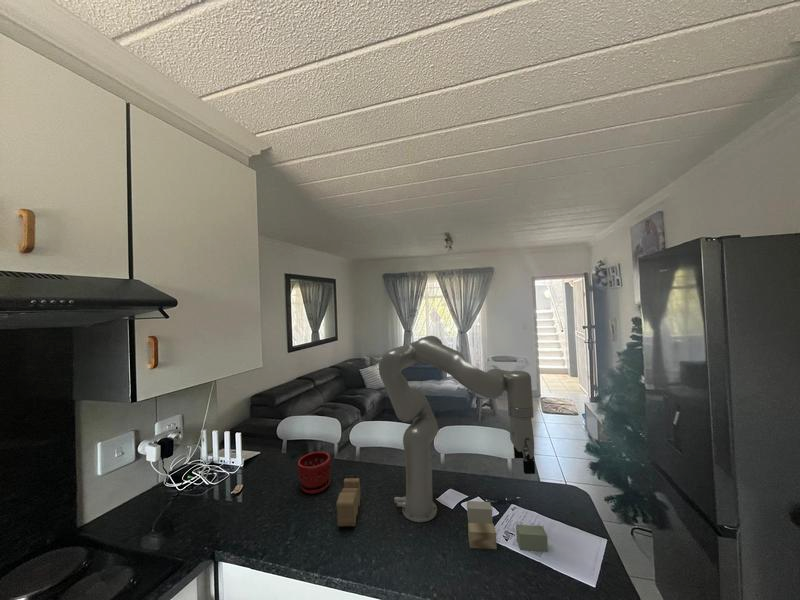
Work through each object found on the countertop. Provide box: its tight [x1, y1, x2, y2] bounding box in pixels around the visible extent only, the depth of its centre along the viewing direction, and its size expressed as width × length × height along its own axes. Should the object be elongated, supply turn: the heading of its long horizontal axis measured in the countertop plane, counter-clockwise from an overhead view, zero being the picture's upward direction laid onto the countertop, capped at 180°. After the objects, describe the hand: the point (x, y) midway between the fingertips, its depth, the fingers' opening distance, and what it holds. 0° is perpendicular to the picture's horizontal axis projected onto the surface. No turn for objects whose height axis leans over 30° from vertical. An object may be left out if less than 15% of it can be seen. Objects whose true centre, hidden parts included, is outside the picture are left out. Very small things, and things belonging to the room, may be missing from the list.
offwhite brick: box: [466, 500, 494, 524], centre depth 107 cm, size 8×4×5 cm, turn 84°
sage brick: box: [515, 524, 549, 553], centre depth 95 cm, size 8×4×5 cm, turn 83°
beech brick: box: [467, 522, 498, 550], centre depth 96 cm, size 8×4×5 cm, turn 85°
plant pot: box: [297, 451, 332, 494], centre depth 128 cm, size 13×13×12 cm
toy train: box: [335, 477, 362, 527], centre depth 111 cm, size 6×17×10 cm, turn 179°
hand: (524, 465), depth 98 cm, fingers open, 9 cm apart
